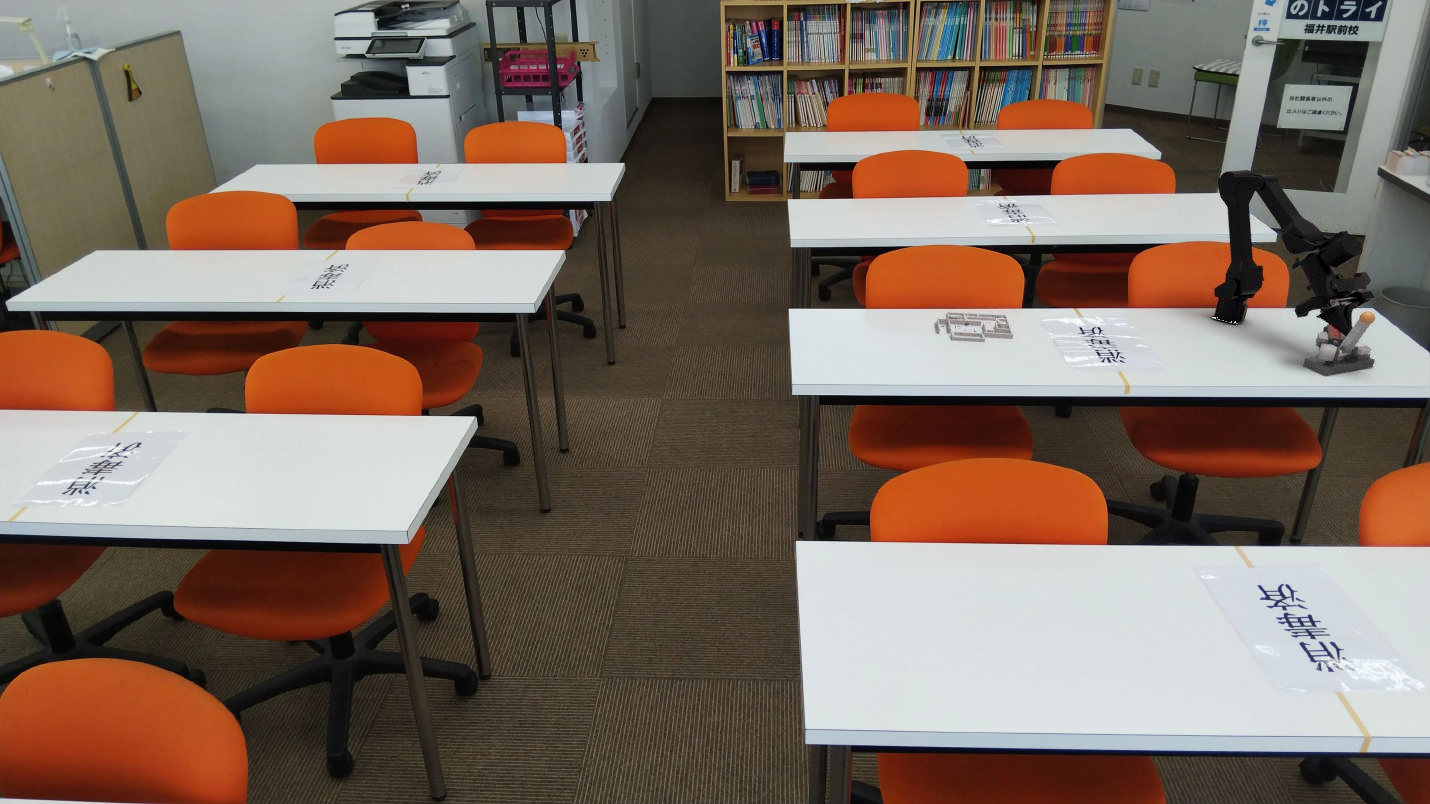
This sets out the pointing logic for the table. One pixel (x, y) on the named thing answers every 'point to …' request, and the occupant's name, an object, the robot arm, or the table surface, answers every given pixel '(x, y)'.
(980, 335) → the floor plan model
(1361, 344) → the white block
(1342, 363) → the slide switch base
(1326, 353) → the push button
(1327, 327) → the walkie-talkie
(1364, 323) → the ball-topped post
